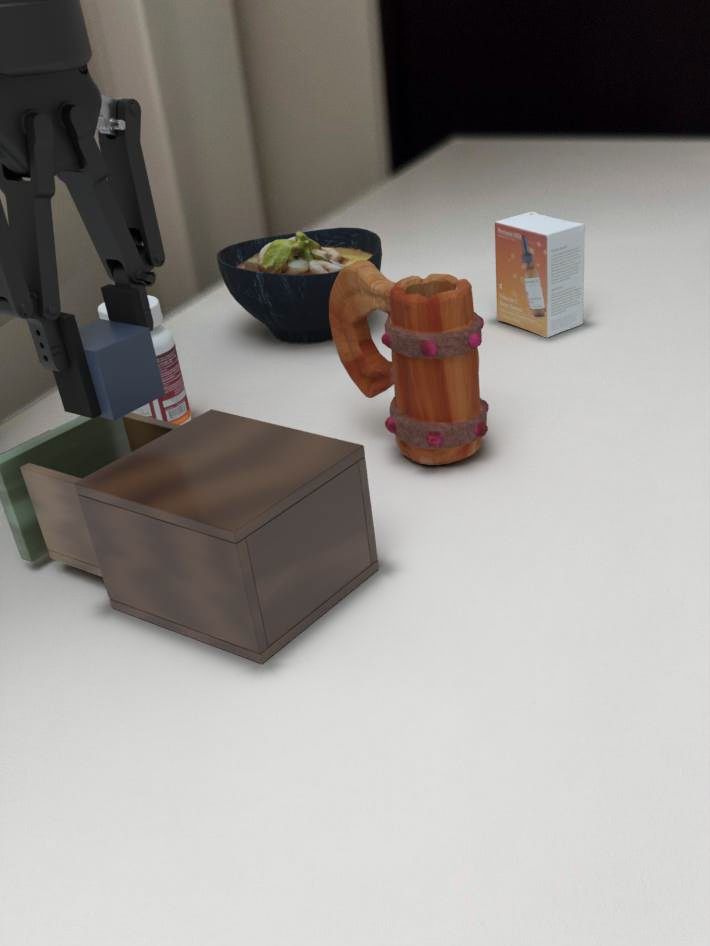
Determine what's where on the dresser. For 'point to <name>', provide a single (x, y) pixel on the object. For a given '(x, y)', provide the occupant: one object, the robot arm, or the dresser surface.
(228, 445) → the cabinet
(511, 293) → the small box
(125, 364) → the block
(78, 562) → the drawer
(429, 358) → the mug
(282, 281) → the bowl
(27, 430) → the dresser surface
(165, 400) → the pill bottle
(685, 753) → the dresser surface
